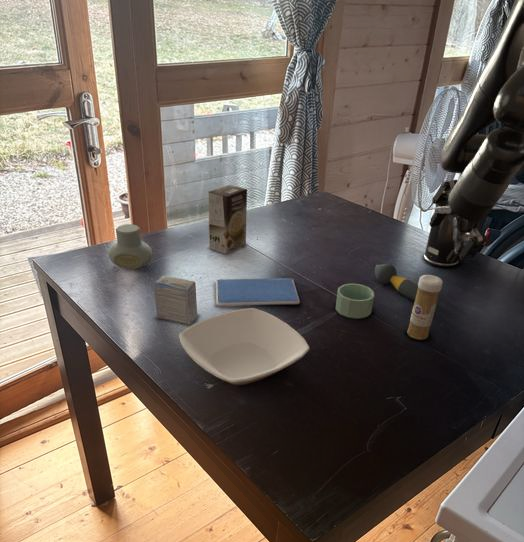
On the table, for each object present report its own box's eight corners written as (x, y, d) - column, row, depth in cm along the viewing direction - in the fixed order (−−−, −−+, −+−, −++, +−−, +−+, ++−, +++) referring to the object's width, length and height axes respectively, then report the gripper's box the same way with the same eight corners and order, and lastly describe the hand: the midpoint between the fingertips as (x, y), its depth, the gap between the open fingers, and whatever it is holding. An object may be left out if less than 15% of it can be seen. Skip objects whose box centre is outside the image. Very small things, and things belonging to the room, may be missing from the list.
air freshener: (155, 258, 138) (152, 222, 132) (150, 272, 131) (147, 235, 125) (114, 257, 137) (109, 221, 132) (107, 271, 131) (101, 234, 125)
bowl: (167, 354, 102) (165, 332, 99) (254, 322, 113) (255, 301, 110) (228, 414, 88) (228, 391, 85) (321, 371, 99) (324, 348, 96)
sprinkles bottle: (403, 335, 111) (415, 279, 103) (412, 326, 114) (425, 271, 106) (422, 343, 108) (437, 286, 101) (432, 334, 111) (446, 278, 104)
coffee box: (226, 254, 141) (226, 197, 132) (208, 248, 144) (207, 191, 135) (246, 244, 148) (247, 188, 138) (229, 238, 150) (229, 183, 141)
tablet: (216, 308, 117) (216, 303, 117) (215, 282, 128) (215, 277, 127) (300, 306, 119) (300, 301, 118) (292, 281, 129) (292, 277, 129)
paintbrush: (440, 304, 123) (445, 285, 120) (427, 310, 120) (431, 291, 117) (377, 273, 135) (380, 256, 132) (364, 278, 132) (366, 260, 130)
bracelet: (347, 297, 124) (350, 280, 121) (377, 308, 120) (380, 291, 117) (328, 309, 119) (330, 292, 116) (359, 322, 115) (362, 304, 112)
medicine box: (197, 316, 114) (196, 281, 109) (189, 325, 111) (187, 290, 106) (166, 309, 116) (163, 274, 111) (156, 318, 113) (153, 283, 108)
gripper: (443, 158, 89) (411, 217, 104) (478, 224, 84) (439, 276, 99) (482, 151, 90) (445, 210, 105) (518, 216, 85) (474, 269, 100)
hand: (442, 242), depth 102 cm, fingers open, 8 cm apart
